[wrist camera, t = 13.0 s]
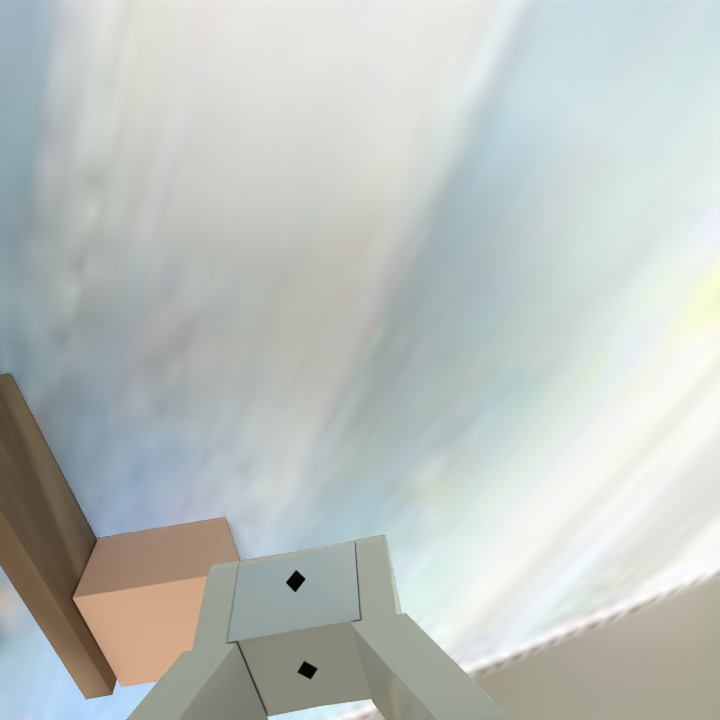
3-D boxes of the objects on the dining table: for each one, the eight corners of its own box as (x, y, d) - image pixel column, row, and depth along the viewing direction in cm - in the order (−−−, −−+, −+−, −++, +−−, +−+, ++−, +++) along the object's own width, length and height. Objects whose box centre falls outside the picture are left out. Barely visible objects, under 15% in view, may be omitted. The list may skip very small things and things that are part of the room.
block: (141, 621, 53) (121, 686, 47) (99, 535, 48) (72, 598, 43) (255, 602, 52) (249, 666, 47) (225, 514, 48) (214, 574, 42)
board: (113, 620, 52) (85, 699, 46) (-19, 378, 40) (-79, 441, 34) (136, 615, 52) (112, 694, 46) (10, 373, 40) (-45, 434, 34)
